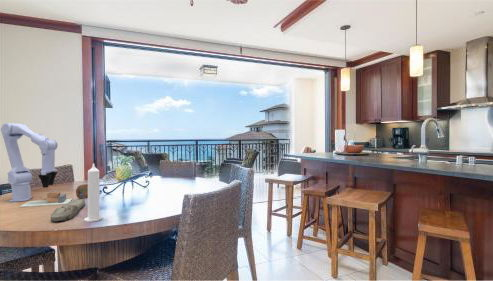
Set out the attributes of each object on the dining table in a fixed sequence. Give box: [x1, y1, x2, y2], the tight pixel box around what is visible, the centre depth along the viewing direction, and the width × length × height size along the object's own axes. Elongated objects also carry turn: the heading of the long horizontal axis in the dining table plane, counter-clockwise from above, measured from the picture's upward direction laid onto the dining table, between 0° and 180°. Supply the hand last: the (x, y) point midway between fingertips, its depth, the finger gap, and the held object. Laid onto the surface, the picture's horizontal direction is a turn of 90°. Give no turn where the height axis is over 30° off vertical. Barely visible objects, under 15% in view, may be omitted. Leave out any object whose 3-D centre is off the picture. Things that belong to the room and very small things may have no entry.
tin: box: [75, 182, 88, 200], centre depth 163 cm, size 15×3×8 cm, turn 168°
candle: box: [83, 162, 104, 223], centre depth 120 cm, size 7×7×25 cm
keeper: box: [46, 191, 61, 203], centre depth 149 cm, size 4×5×4 cm
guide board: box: [18, 193, 74, 208], centre depth 148 cm, size 12×21×4 cm, turn 110°
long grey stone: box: [50, 198, 86, 222], centre depth 131 cm, size 35×5×10 cm
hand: (48, 186), depth 150 cm, fingers open, 7 cm apart
